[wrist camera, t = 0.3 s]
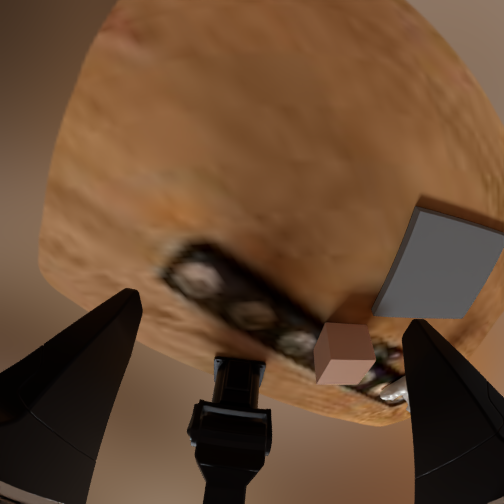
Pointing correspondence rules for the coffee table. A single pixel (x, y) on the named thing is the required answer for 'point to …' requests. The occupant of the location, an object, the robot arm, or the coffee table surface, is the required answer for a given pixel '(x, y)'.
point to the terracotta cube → (343, 354)
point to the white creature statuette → (396, 391)
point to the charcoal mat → (438, 267)
